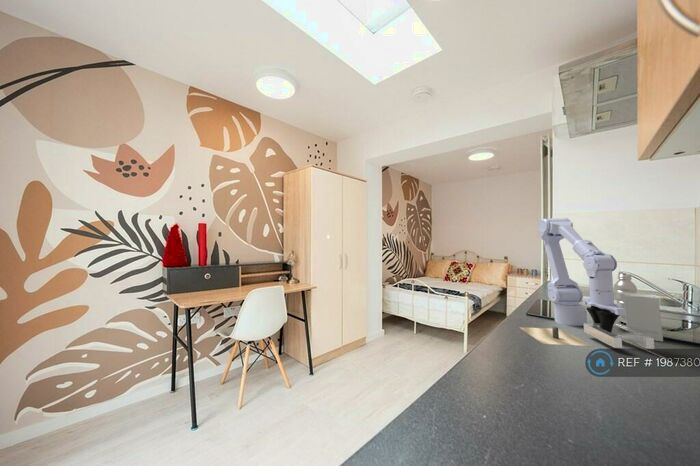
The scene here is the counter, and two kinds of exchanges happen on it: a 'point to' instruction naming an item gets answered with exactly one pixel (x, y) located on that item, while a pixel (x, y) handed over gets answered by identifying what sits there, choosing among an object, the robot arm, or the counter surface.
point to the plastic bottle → (623, 291)
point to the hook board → (549, 334)
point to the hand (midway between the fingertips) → (603, 330)
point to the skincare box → (643, 314)
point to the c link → (621, 331)
